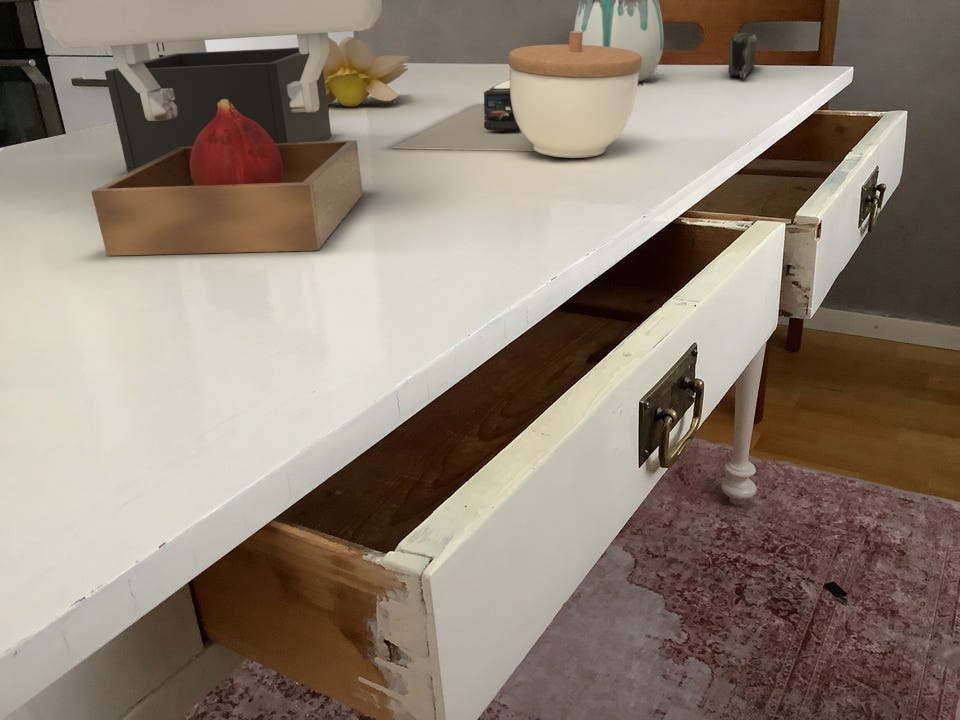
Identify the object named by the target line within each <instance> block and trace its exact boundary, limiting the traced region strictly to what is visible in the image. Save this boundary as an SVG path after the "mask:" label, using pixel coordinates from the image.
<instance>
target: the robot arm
mask: <svg viewBox="0 0 960 720" xmlns="http://www.w3.org/2000/svg"><path fill="white" fill-rule="evenodd" d="M38 4H39V8H40V12H41V16H42V19H43V22H44V26H45V28H46V31H47V32H48V33H49V35H50V36H51V37H53V39H54V40H55V41H56V42H57V43H58V44H59V45H61V47H63V48H65V49H81V48H98V47H110V49H111V53H112V58H113V62H114V66H115V67H116V68H118V69H119V71H120V72H121V73H122V74H123V76H124V77H125V78H126V79H127V80H128V82H129V83H130V84H131V85H132V86H133V88H134V89H135V90H136V91H137V93H140V97H141V101H142V105H143V110H144V114H145V117H146V119H147V120H148V121H157V120H171V119H172V118H175V117H177V114H178V110H177V106H176V104H175V103H174V100H175V95H174V90H173V88H163V89H159V88H161V87H160V86H159V84H158V83H157V82H156V80H155V79H154V77H153V76H152V75H151V73H150V72H149V71H148V69H147V68H146V66H145V65H144V64H143V62H145V61H149V60H150V54H149V49H148V44H149V43H166V42H182V41H199V40H204V41H212V40H214V41H215V40H231V39H246V38H248V39H249V38H265V37H279V36H280V37H281V36H295V35H296V38H297V47H299V52H300V53H301V54H309V57H308V60H307V63H306V65H305V68H304V71H303V74H302V77H301V79H300V81H294V82H292V83H291V84H288V85H287V92H288V97H289V98H290V99H291V101H290V103H289V105H290V110H291V112H292V113H311V112H316V111H318V110H319V96H318V89H317V81H316V80H318V79H319V76H320V74H321V71H322V69H323V67H324V64H325V62H326V59H327V57H328V54H329V52H330V46H329V38H330V37H329V34H330V33H343V32H344V33H345V32H347V33H348V32H361V31H365V30H370V29H371V28H373V27H374V26H375V24H376V23H377V21H378V20H379V18H380V17H381V15H382V12H383V2H382V0H38ZM328 37H329V38H328Z"/></svg>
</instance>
